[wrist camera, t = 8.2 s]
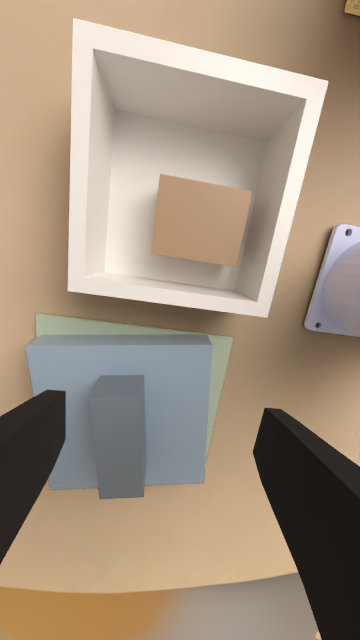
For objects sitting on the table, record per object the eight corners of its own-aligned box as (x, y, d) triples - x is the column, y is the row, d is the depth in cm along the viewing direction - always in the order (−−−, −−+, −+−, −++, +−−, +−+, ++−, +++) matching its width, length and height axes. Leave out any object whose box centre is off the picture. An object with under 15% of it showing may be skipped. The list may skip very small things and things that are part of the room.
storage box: (276, 136, 15) (328, 81, 10) (240, 300, 18) (267, 317, 13) (104, 99, 14) (72, 17, 9) (95, 280, 17) (67, 290, 12)
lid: (206, 334, 18) (221, 361, 14) (200, 460, 22) (209, 517, 17) (42, 334, 17) (-3, 363, 13) (62, 465, 21) (32, 526, 16)
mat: (232, 336, 19) (233, 338, 18) (200, 479, 23) (200, 483, 22) (38, 312, 17) (35, 314, 17) (40, 469, 21) (38, 473, 21)
